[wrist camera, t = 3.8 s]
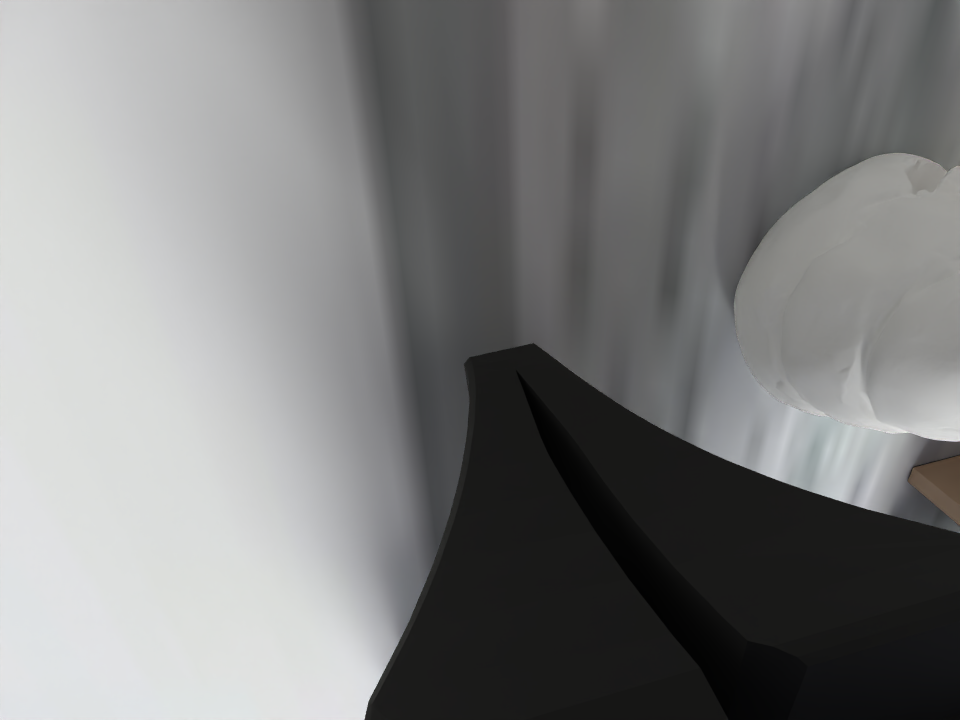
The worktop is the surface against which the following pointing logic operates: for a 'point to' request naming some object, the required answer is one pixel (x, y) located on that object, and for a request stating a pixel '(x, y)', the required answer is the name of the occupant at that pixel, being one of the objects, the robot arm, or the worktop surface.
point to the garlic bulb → (862, 300)
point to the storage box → (940, 485)
